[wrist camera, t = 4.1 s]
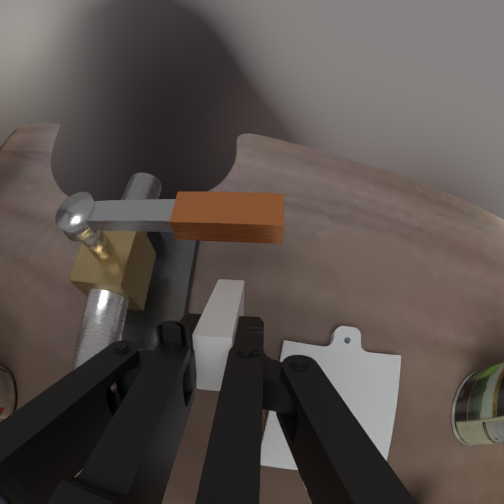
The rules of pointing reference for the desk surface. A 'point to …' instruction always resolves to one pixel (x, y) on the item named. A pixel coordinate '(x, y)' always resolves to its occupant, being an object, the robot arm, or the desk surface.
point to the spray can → (6, 393)
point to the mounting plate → (344, 391)
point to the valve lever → (180, 216)
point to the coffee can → (480, 407)
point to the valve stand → (131, 281)
